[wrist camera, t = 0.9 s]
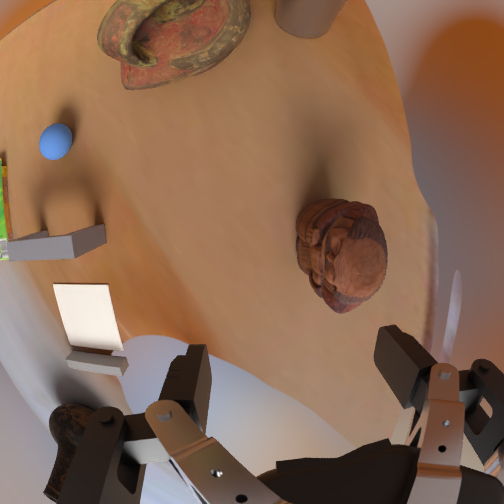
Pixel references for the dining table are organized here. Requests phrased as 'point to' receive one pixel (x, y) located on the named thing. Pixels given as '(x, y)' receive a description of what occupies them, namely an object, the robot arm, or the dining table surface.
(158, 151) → the dining table surface
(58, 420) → the glass bottle
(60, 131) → the ball
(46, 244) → the bridge
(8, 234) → the game box
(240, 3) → the ceramic vessel
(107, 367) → the wall
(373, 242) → the wooden figurine
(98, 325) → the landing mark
